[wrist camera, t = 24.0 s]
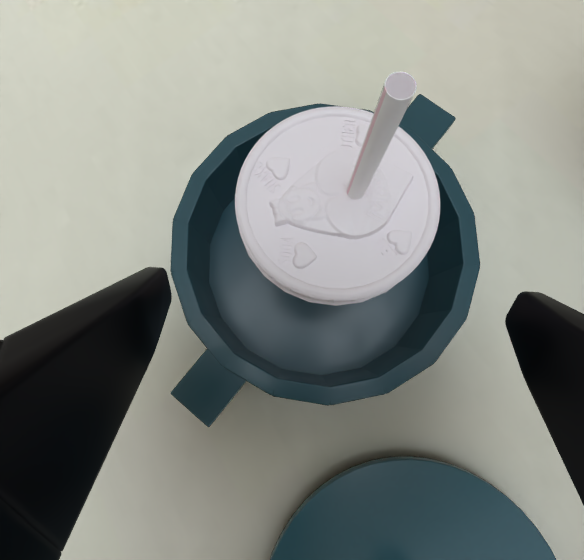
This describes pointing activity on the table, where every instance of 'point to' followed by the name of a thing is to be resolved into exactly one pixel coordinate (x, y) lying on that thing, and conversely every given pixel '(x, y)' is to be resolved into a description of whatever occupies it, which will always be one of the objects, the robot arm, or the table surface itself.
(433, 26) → the table surface
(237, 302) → the pot
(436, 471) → the pot lid
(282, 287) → the smoothie
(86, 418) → the robot arm
